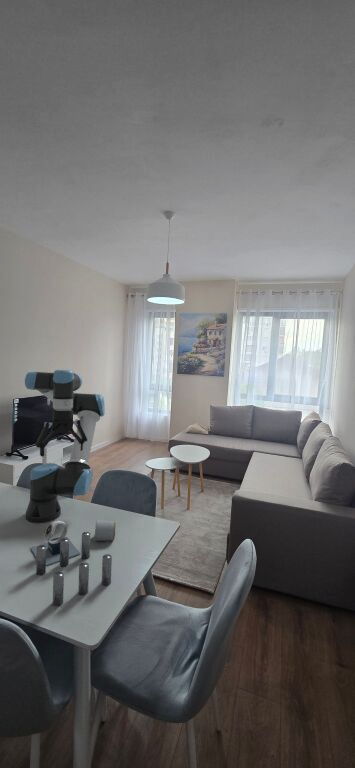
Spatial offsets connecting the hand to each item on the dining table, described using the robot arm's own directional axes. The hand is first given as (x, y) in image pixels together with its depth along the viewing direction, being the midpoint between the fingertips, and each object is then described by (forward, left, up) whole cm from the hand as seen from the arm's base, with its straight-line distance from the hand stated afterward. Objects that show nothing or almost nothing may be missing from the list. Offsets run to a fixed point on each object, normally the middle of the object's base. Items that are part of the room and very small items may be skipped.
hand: (61, 461), depth 135 cm
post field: (+27, -5, -32) cm, 42 cm away
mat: (+9, -5, -32) cm, 33 cm away
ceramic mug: (+10, +15, -32) cm, 37 cm away
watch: (+9, -5, -31) cm, 33 cm away
